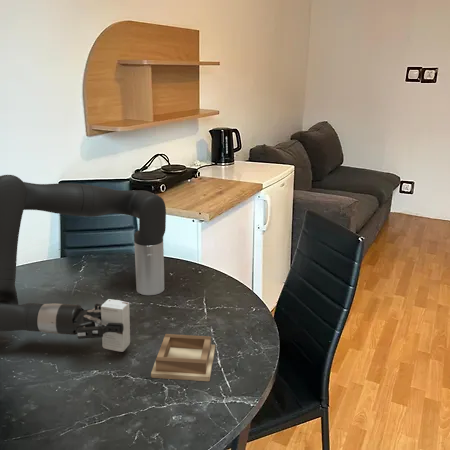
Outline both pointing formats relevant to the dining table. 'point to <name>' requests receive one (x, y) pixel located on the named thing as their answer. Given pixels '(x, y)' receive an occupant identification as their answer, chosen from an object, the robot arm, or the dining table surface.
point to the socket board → (184, 358)
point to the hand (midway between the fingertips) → (126, 322)
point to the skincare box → (116, 314)
